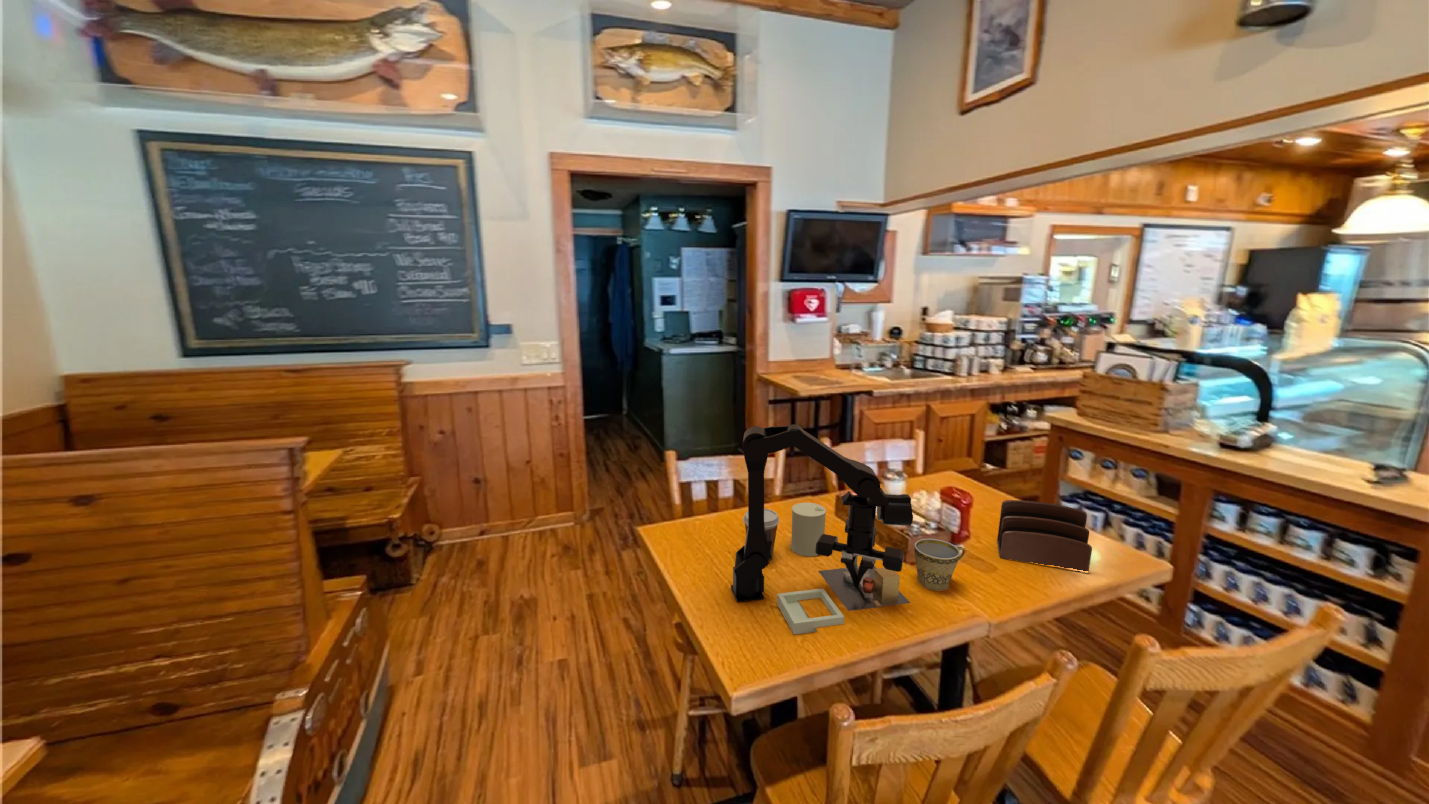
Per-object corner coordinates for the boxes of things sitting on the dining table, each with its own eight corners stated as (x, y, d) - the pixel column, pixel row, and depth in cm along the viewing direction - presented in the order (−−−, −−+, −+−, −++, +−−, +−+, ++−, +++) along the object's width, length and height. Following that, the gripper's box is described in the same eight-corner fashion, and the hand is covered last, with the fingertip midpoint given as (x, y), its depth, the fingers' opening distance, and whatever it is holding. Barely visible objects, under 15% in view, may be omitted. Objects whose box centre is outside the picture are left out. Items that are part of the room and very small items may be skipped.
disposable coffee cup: (756, 544, 147) (756, 504, 145) (785, 555, 142) (786, 513, 139) (735, 558, 140) (735, 515, 138) (765, 570, 134) (766, 526, 132)
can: (827, 556, 141) (829, 514, 138) (792, 556, 141) (794, 514, 139) (821, 540, 150) (823, 500, 147) (788, 540, 150) (789, 500, 148)
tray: (793, 634, 109) (794, 623, 109) (777, 604, 120) (777, 593, 119) (843, 627, 111) (844, 616, 111) (822, 598, 122) (823, 588, 121)
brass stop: (881, 602, 119) (883, 577, 118) (872, 592, 123) (874, 568, 121) (897, 600, 120) (899, 576, 118) (888, 590, 123) (890, 567, 122)
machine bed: (848, 614, 116) (848, 608, 116) (817, 574, 132) (818, 569, 132) (910, 606, 119) (910, 600, 119) (873, 568, 135) (873, 562, 135)
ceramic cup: (928, 601, 121) (932, 561, 119) (902, 578, 130) (905, 541, 128) (976, 592, 124) (980, 553, 122) (947, 571, 134) (951, 534, 132)
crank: (840, 570, 131) (841, 556, 130) (864, 569, 131) (865, 556, 130) (856, 598, 119) (857, 584, 118) (882, 598, 119) (883, 583, 118)
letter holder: (996, 542, 149) (1002, 495, 146) (1080, 556, 141) (1087, 507, 138) (999, 559, 140) (1005, 509, 137) (1088, 575, 132) (1097, 522, 129)
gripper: (908, 516, 121) (902, 578, 124) (827, 502, 129) (824, 561, 132) (904, 536, 111) (898, 603, 115) (816, 520, 119) (813, 583, 122)
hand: (856, 586), depth 121 cm, fingers closed
